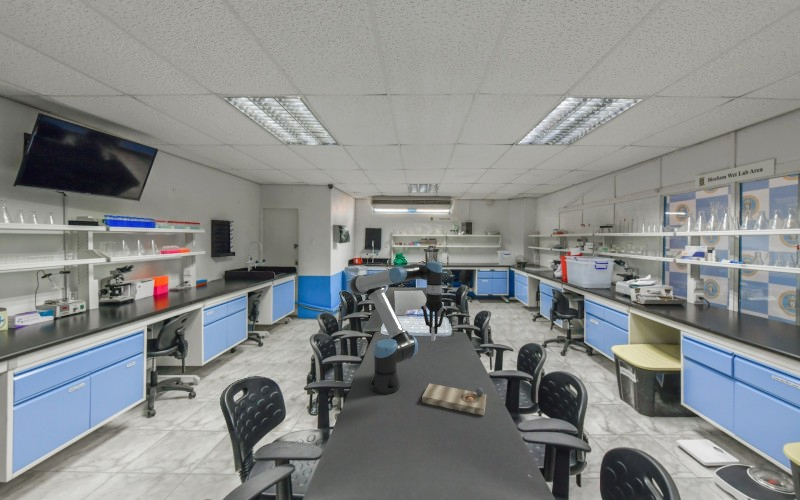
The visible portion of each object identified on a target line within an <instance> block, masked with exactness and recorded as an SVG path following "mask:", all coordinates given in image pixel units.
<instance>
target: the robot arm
mask: <svg viewBox="0 0 800 500" xmlns="http://www.w3.org/2000/svg"><path fill="white" fill-rule="evenodd" d="M416 280H424V281H426V299H425V300H426V302H425V304H423V305H422V306H421V307H420V309H421V310H422V314H423V318H424V322H425V326H426V327H427V326H428V327H429V328H428V329H429V330H428V331H429V334H431V335H430V336H431V337H430V340H431V342H434V341H436V336H437V335H438V332H439V330H438V328H440V327H441V326H442V325H443V321H444V317H445V313H446V311H447V310H448V308H447V307H445V306H444V305H443V301H442V300H443V299H442V298H443V296H442V295H443V294H442V293H443V282H442V281H443V263H442V262H440V261H428V262H426V264H421V263H420V264H419V263H411V264H409V265H397V266H392V268H389V269H386V270H382V271H379V272H376V273H375V272H374V273H368V274H366V273H365V274H358V275H356V276H354V277H353V278H352V279H351V280H350V282H349V288H350V290H351V292H352V293H353V294H355V295H359V296H363V295H364V296H365V295H366V296H367V298H368V300H371V301H372V302H373V305H374V307H375V309H376V311H377V312H378V315H379V317H380V319H381V321H382V323H383V326H384V328H385V330H386V332H387V334H388V335H389V338H383V339H380V340H378V341H377V342H376V343H375V344H374V351H373V357H374V360H373V361H374V362H373V363H374V364H373V365H374V368H373V369H374V372H373V375H372V378H371V381H370V389H371V391H373V392H374V393H377V394H381V395H389V394H393V393H396V392H398V391H399V390H400V388H401V381H400V380H401V379H400V378H399V375H398V371H397V370H398V369H397V368H398V364H400V363H402V362H405V361H406V360H410V359H411V358H413V357H415V356H416V355H417V353H418V350H419V343H418V339H417V338H416V337H415V336H414V335H411V334H410V333H409V332H408V330H407V329H404V328H403V326H402V324H401V322H400V320H399V318H398V316H397V314H396V312H395V310H394V307H393V306H392V305H391V302H390V301H389V299H388V296H387V294H386V292H387V289H386V288H387V286H390V285H393V284H394V285H395V284H399V283H403V282H409V281H416ZM440 310H441V313H440V317H439V311H440ZM428 314H429V315H428Z"/></svg>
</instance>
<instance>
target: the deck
mask: <svg viewBox="0 0 800 500" xmlns="http://www.w3.org/2000/svg"><path fill="white" fill-rule="evenodd" d="M468 397H472V398H473V399H474V400H473V401H468V400H467V398H468ZM421 399H422V400H421V402H422V403H423V404H428V405H433V406H436V407H437V406H438V407H442V408H446V409H451V410H455V411H460V412H465V413H470V414H474V415H479V416H484V417H485V411H486V404H487V393H483V395H481V396H479V395H477V393H476V391H473V390H467V389H463V388H462V389H460V388H456V387H452V386H451V387H450V386H447V385H446V386H445V385H440V384H435V383H428V386H427V387H426V389H425V390H424V392H423V394H422V397H421Z"/></svg>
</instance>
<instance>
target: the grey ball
mask: <svg viewBox="0 0 800 500" xmlns="http://www.w3.org/2000/svg"><path fill="white" fill-rule="evenodd" d="M475 392H476V393H477V395H479V396H481V395H483V394H484V389H483V388H482V387H477V388H476V390H475Z"/></svg>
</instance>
